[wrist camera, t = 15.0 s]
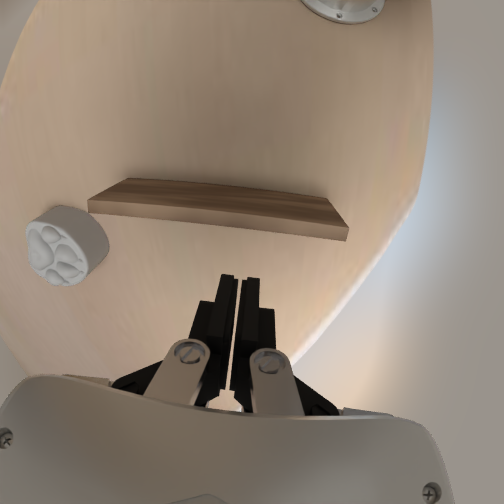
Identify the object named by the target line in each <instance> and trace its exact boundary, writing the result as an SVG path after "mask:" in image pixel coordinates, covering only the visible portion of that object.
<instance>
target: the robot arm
mask: <svg viewBox="0 0 504 504" xmlns="http://www.w3.org/2000/svg"><path fill="white" fill-rule="evenodd" d="M301 1H302V2H303V3H304V4H305V5H306V6H307V7H308V8H309V9H311V10H312V11H313V12H315V13H317V14H318V15H320V16H322V17H324V18H326V19H329V20H331V21H335V22H339V23H345V24H359V23H364V22H367V21H369V20H371V19H373V18H374V17H376V16H377V15H378V14H379V13H380V12H381V10H382V9H383V6H384V3H385V0H301ZM373 11H374V12H373ZM337 16H338V17H339V18H338V17H337ZM237 288H238V279H234V275H227V274H222V275H221V278H220V282H219V286H218V290H217V294H216V298H215V302H209V301H200V303H199V306H198V309H197V312H196V315H195V318H194V321H193V325H192V328H191V331H190V334H189V337H188V339H183V340H179V341H178V342H176V343H174V344H173V346H172V347H171V348H170V350H169V352H168V353H167V355H166V357H165V358H164V360H162V361H160V362H157V363H155V364H153V365H150V366H148V367H145V368H143V369H141V370H138V371H136V372H133V373H131V374H128V375H126V376H123V377H121V378H119V379H117V380H116V381H115V382H113V381H110V379H108V378H96V377H86V376H77V375H69V374H65V375H55V374H40V375H33V376H29V377H27V378H25V379H24V380H22V381H21V382H20V383H19V384H18V385H17V386H16V387H15V388H14V389H13V390H12V392H11V393H10V394H9V395H8V397H7V398H6V400H5V401H4V403H3V404H2V406H1V408H0V504H455V503H454V498H453V493H452V489H451V485H450V481H449V478H448V474H447V471H446V468H445V465H444V461H443V459H442V456H441V454H440V451H439V448H438V446H437V444H436V442H435V440H434V438H433V437H432V435H431V434H430V432H429V431H428V430H427V429H426V428H425V427H424V426H422V425H421V424H419V423H416V422H414V421H411V420H408V419H403V418H399V417H394V416H393V415H390V414H387V413H378V412H371V411H364V410H357V409H350V408H345V407H344V408H343V410H341V409H337V408H336V406H334V405H333V404H332V403H331V402H329V401H328V400H327V399H325V398H324V397H323V396H321V395H320V394H318V393H317V392H316V391H314V390H313V389H311V388H310V387H309V386H307V385H306V384H305V383H304V382H302V381H301V380H299V379H298V378H297V377H295V376H294V375H293V372H292V368H291V365H290V361H289V359H288V357H287V356H286V355H285V354H284V353H282V352H280V351H279V350H276V336H275V312H274V309H267V308H259V289H260V278H252V277H247V280H242V286H241V294H240V302H239V310H238V317H237V325H236V333H235V342H234V351H233V361H232V370H231V380H230V389H229V390H232V391H235V392H234V398H235V399H236V400H237V401H238V402H239V403H240V404H241V405H242V412H236V411H227V410H219V409H212V408H208V406H209V401H210V400H212V399H214V398H215V397H217V396H219V393H220V389H223V390H225V387H226V380H227V372H228V365H229V357H230V350H231V342H232V335H233V327H234V317H235V307H236V298H237Z"/></svg>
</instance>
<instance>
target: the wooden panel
mask: <svg viewBox="0 0 504 504" xmlns="http://www.w3.org/2000/svg"><path fill="white" fill-rule="evenodd" d="M87 203H88V213H97V214H109V215H120V216H131V217H141V218H151V219H162V220H171V221H181V222H191V223H200V224H209V225H218V226H227V227H236V228H244V229H253V230H261V231H269V232H277V233H285V234H293V235H301V236H309V237H316V238H324V239H331V240H339V241H346V239H347V235H348V231H349V227H348V226H347V224H346V223H345V222H344V220H343V219H342V217H341V216H340V215H339V213H338V212H337V211H336V209H335V208H334V207H333V206H332V204H331V203H330V202H329V200H328V199H326V198H320V197H313V196H307V195H300V194H293V193H285V192H278V191H270V190H262V189H254V188H246V187H237V186H227V185H217V184H207V183H195V182H183V181H169V180H154V179H136V178H127V179H125V180H123V181H121V182H119V183H117V184H116V185H114V186H112V187H110V188H108V189H106V190H104V191H102V192H101V193H99V194H97V195H95V196H93V197H92V198H90V199H88V200H87Z"/></svg>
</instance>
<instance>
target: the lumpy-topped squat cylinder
mask: <svg viewBox="0 0 504 504" xmlns="http://www.w3.org/2000/svg"><path fill="white" fill-rule="evenodd" d="M26 239H27V244H28V259H29V263H30V265H31V267H32V268H33V270H34V271H35V272H36V273H37V274H38V275H39V276H41V277H43V278H44V279H46V280H47V282H48V283H50V284H51V285H54V286H59V285H62V286H71V285H75V284H78V283H80V282H82V281H83V280H84V279H85V278H86V277H87V276H88V275H89V274H90V273H91V271H92V270H93V269H94V268H95V267H96V266H97V265H98V264H99V263H100V262H101V261H102V260H103V259H104V258H105V257H106V256H107V254H108V252H109V241H108V238H107V236H106V234H105V232H104V230H103V228H102V227H101V226H100V224H99V223H98V222H97V221H96V220H95V219H94V218H93V217H92V216H91V215H90V214H88V213H87V212H85V211H83V210H80V209H77V208H73V207H68V206H56V207H55V208H53V209H51V210H49V211H48V212H46V213H44V214H42V215H41V216H39V217H37V218H36V219H34V220H33V221H31V222H30V223H29V224H28V225H27V227H26Z"/></svg>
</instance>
